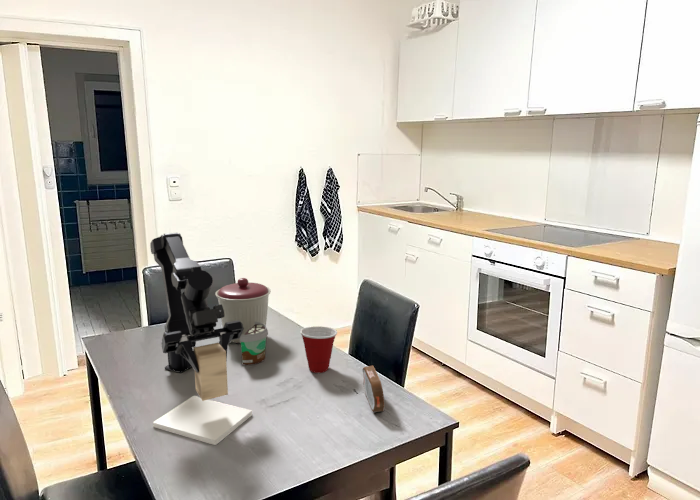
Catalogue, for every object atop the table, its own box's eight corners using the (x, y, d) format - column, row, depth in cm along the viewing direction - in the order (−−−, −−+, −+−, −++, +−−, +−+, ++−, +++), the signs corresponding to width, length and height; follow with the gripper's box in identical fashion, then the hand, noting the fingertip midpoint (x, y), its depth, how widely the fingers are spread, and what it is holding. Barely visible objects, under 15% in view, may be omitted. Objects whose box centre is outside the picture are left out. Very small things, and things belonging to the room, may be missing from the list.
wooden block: (195, 390, 123) (193, 347, 120) (220, 384, 126) (218, 342, 123) (202, 400, 118) (200, 356, 115) (227, 394, 121) (225, 351, 118)
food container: (260, 369, 150) (259, 337, 148) (240, 367, 151) (239, 335, 149) (274, 352, 162) (273, 322, 160) (256, 350, 163) (255, 321, 161)
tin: (385, 418, 124) (385, 386, 122) (372, 419, 123) (373, 387, 121) (372, 388, 138) (372, 360, 136) (361, 389, 138) (361, 360, 136)
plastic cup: (343, 364, 153) (343, 327, 150) (326, 379, 143) (326, 339, 141) (311, 358, 157) (311, 321, 155) (293, 372, 148) (293, 333, 145)
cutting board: (153, 426, 119) (152, 422, 119) (193, 399, 132) (193, 395, 132) (215, 445, 112) (215, 440, 112) (252, 414, 125) (251, 410, 124)
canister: (229, 327, 184) (226, 270, 179) (278, 329, 181) (276, 272, 177) (209, 346, 166) (205, 284, 162) (262, 349, 164) (260, 286, 159)
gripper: (160, 300, 115) (174, 364, 109) (239, 288, 125) (257, 346, 118) (156, 322, 124) (169, 383, 117) (231, 310, 133) (247, 365, 126)
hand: (211, 368), depth 119 cm, fingers closed on wooden block, 6 cm apart
